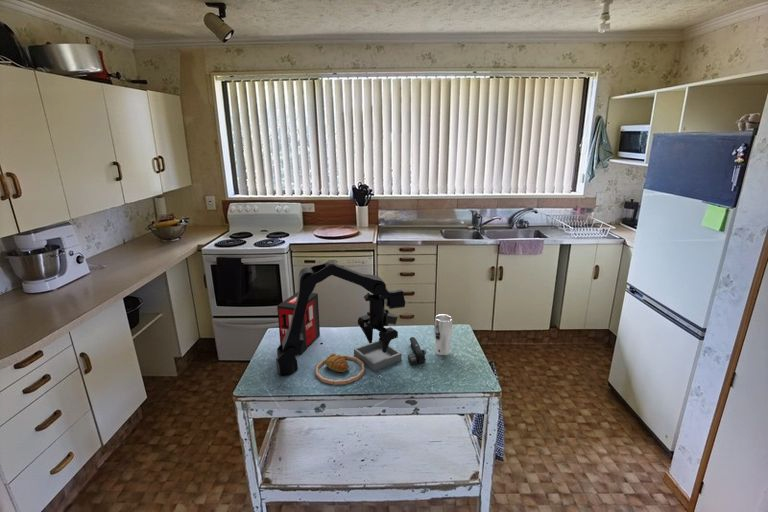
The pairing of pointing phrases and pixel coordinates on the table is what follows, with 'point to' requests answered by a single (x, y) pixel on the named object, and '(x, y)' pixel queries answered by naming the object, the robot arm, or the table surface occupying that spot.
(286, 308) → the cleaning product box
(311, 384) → the table surface
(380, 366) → the bin
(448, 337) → the drink can
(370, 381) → the table surface
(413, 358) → the can opener
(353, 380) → the socket ring
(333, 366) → the pastry
